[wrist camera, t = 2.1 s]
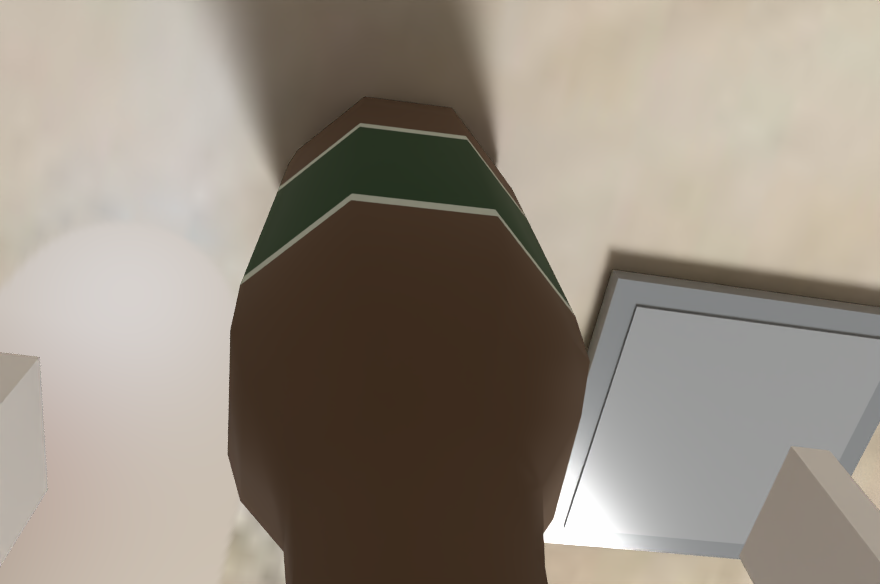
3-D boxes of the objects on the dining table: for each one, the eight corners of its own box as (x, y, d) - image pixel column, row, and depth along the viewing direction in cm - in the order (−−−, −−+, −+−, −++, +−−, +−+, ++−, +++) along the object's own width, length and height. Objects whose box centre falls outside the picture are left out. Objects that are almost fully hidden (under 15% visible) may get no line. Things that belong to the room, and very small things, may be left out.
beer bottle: (349, 42, 24) (34, 1089, 2) (547, 158, 26) (1333, 1258, 4) (248, 238, 27) (-327, 1562, 5) (435, 329, 29) (591, 1527, 7)
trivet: (533, 528, 34) (537, 543, 33) (612, 269, 28) (619, 279, 27) (796, 551, 35) (805, 566, 35) (918, 312, 30) (933, 323, 29)
